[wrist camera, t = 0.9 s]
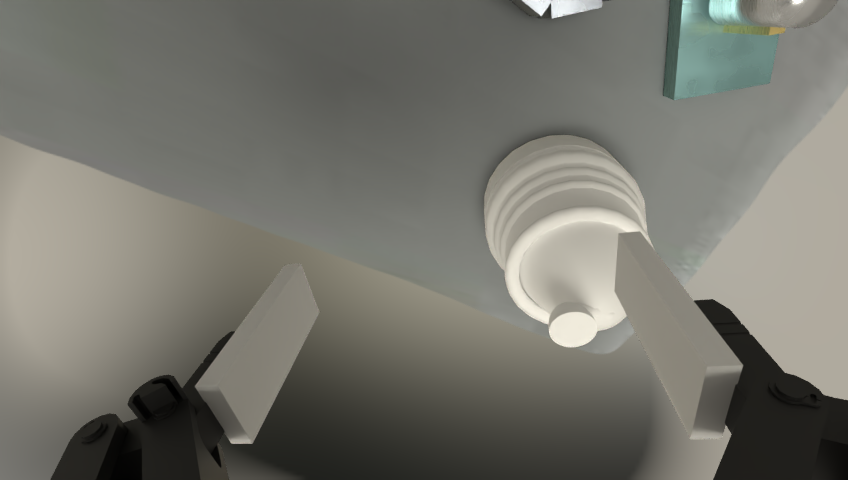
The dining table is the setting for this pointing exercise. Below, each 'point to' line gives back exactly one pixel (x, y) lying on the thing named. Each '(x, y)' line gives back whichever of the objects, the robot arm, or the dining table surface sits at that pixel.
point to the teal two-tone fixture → (729, 42)
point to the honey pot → (562, 232)
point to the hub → (556, 7)
